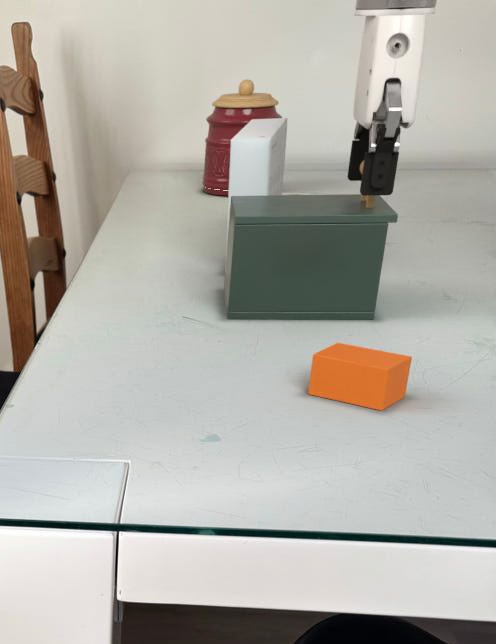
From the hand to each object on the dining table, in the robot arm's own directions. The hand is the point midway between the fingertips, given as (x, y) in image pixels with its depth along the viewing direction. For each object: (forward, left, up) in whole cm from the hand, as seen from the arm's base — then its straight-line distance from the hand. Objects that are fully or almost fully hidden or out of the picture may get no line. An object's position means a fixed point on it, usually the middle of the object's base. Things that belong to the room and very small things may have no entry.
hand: (368, 187), depth 107 cm
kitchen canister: (+53, -59, -12) cm, 81 cm away
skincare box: (+22, -14, -12) cm, 29 cm away
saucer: (+34, -45, -12) cm, 58 cm away
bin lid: (+5, +3, -2) cm, 6 cm away
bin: (+5, +4, -12) cm, 14 cm away
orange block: (-15, +28, -12) cm, 34 cm away
